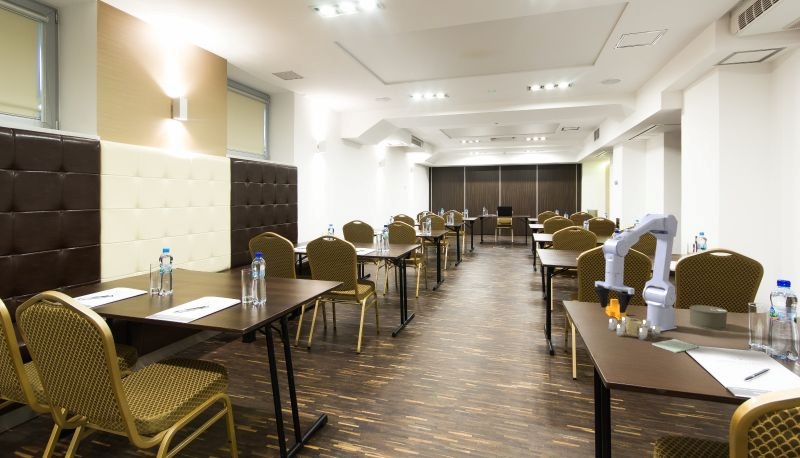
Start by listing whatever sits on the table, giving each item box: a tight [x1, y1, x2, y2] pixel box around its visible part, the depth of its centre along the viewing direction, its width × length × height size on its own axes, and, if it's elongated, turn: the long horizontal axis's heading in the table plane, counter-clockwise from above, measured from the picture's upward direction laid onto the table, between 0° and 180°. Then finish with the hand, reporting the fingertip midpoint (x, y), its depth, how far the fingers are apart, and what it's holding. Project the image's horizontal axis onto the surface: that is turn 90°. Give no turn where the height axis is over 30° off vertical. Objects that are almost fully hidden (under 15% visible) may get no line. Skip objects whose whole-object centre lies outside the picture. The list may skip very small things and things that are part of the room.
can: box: [688, 304, 728, 331], centre depth 160 cm, size 12×12×7 cm
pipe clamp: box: [605, 298, 628, 322], centre depth 172 cm, size 12×4×6 cm, turn 169°
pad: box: [651, 338, 700, 354], centre depth 136 cm, size 12×8×1 cm, turn 114°
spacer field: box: [608, 315, 661, 341], centre depth 150 cm, size 17×15×4 cm
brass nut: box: [625, 317, 643, 336], centre depth 150 cm, size 5×4×5 cm
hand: (613, 309), depth 146 cm, fingers open, 7 cm apart
